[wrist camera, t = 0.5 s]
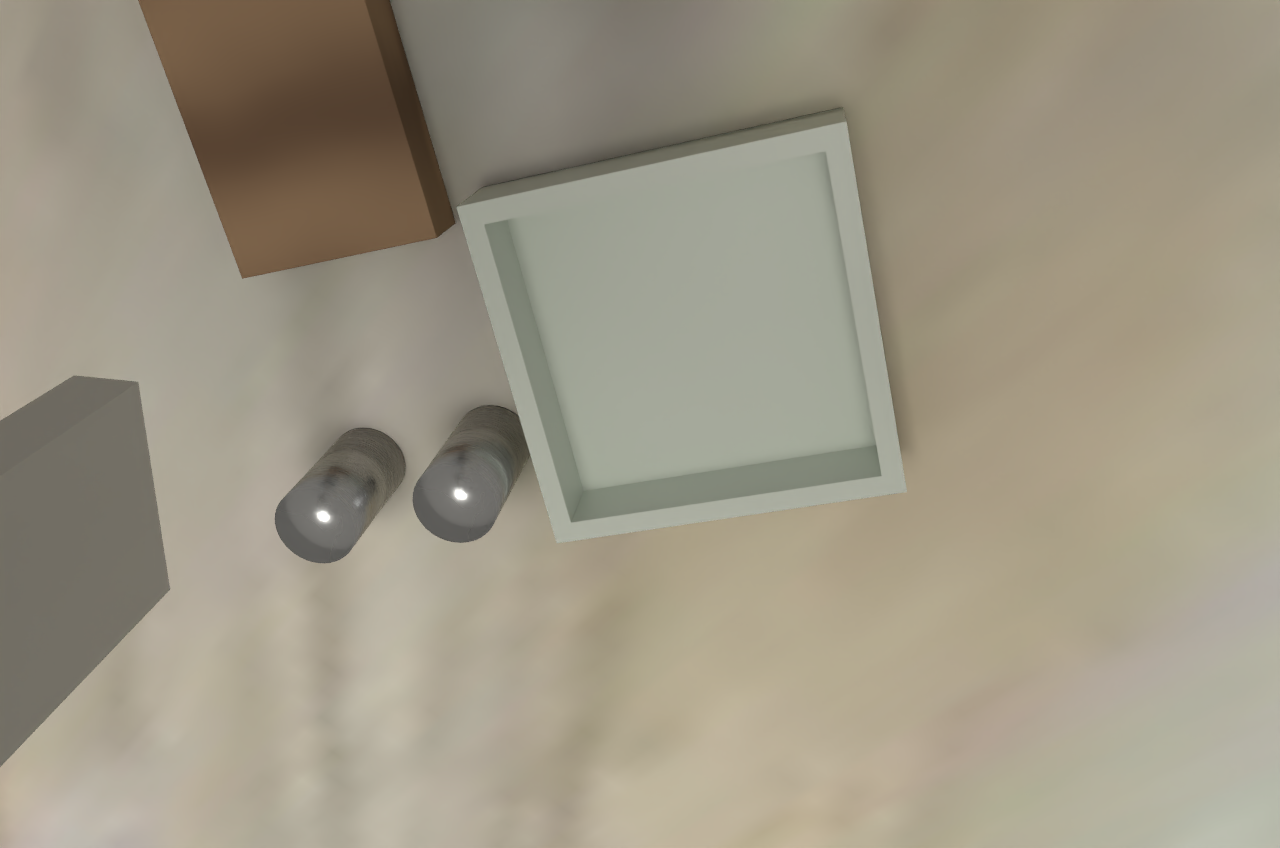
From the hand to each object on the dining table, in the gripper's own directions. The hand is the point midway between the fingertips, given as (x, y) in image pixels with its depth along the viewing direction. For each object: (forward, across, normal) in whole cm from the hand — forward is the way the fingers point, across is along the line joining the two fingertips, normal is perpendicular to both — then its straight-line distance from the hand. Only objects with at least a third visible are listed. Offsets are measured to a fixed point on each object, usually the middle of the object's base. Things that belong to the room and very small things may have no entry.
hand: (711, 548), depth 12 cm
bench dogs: (+25, -11, -12) cm, 30 cm away
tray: (+25, -2, -6) cm, 26 cm away
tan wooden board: (+26, -15, 0) cm, 30 cm away
